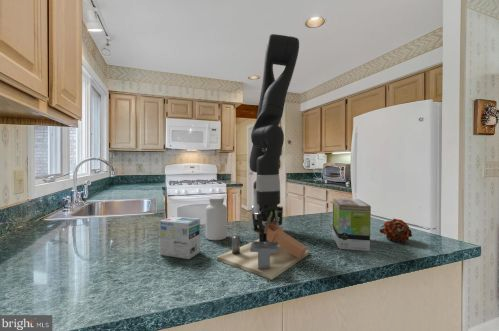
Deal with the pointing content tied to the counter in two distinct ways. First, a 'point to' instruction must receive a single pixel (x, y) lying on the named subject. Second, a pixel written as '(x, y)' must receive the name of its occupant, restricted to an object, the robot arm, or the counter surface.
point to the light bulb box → (180, 237)
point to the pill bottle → (216, 219)
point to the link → (284, 240)
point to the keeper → (264, 252)
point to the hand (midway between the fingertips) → (269, 242)
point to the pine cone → (396, 230)
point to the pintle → (235, 244)
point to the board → (250, 261)
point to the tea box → (351, 224)
